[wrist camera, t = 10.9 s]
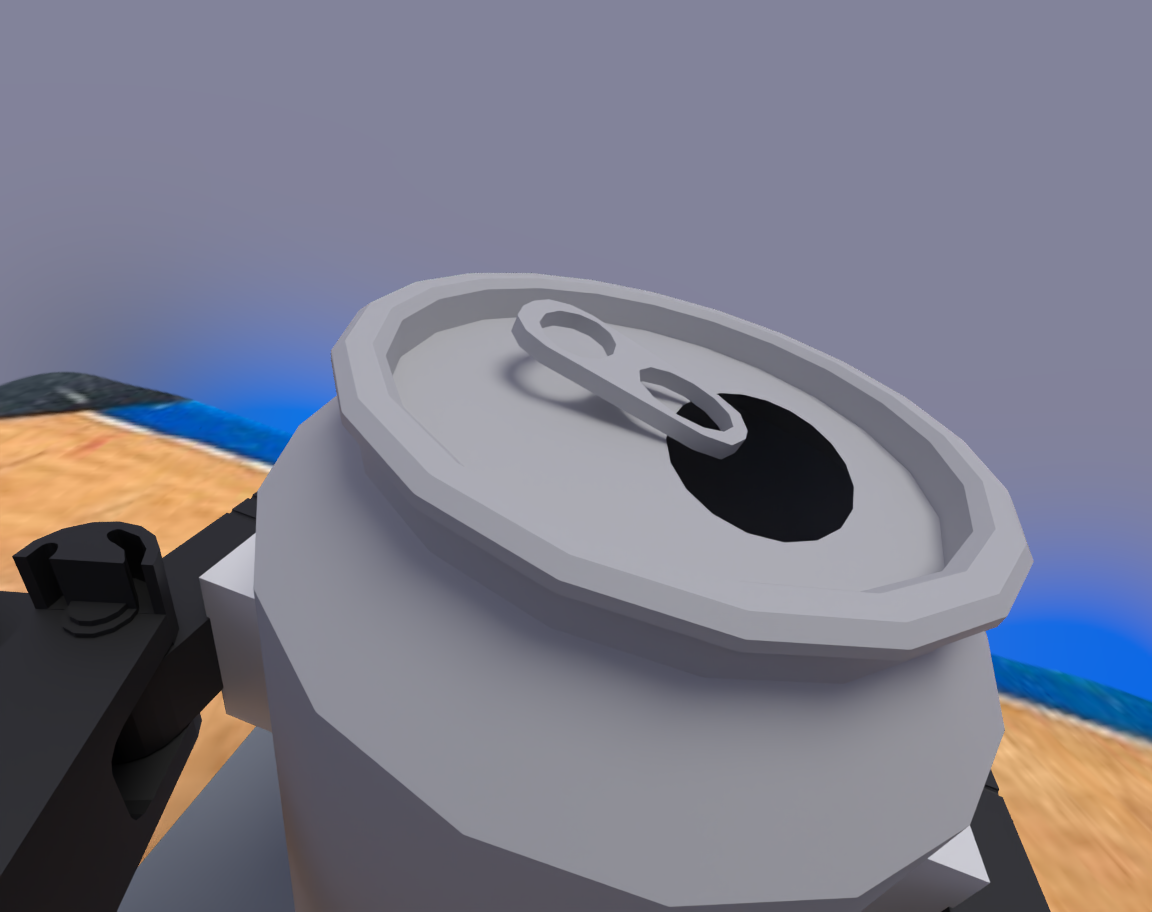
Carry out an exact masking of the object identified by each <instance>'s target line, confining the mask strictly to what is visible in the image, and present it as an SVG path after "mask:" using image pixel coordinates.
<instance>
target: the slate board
mask: <svg viewBox="0 0 1152 912" xmlns="http://www.w3.org/2000/svg"><path fill="white" fill-rule="evenodd" d="M117 912H295V905H294V898H293V890H292V882H291V874H290V867H289V859H288V851H287V844H286V836H285V828H284V820H283V813H282V805H281V797H280V790H279V782H278V774H277V766H276V759H275V751H274V743H273V736H272V732H270V731H267V730H265V729H262V728H260V727H257V726H256V727H255V728H254V730H253V731H252V732H251V733H250V734H249V735H248V737H247V738H246V739H245V740H244V741H243V743H242V744H241V745H240V746H239V747H238V749H237V750H236V751H235V752H234V753H233V755H232V756H231V757H230V758H229V759H228V761H227V762H226V763H225V764H224V765H223V766H222V768H221V769H220V770H219V771H218V772H217V774H216V775H215V776H214V777H213V778H212V780H211V781H210V782H209V783H208V784H207V786H206V787H205V788H204V789H203V790H202V791H201V793H200V794H199V795H198V796H197V797H196V799H195V800H194V801H193V802H192V803H191V805H190V806H189V807H188V808H187V809H186V811H185V812H184V813H183V814H182V815H181V817H180V818H179V819H178V820H177V821H176V822H175V824H174V825H173V826H172V827H171V828H170V830H169V831H168V832H167V833H166V834H165V836H164V837H163V838H162V839H161V840H160V842H159V843H158V844H157V845H156V846H155V847H154V849H153V850H152V851H151V852H150V853H149V855H148V856H147V857H146V858H145V859H144V861H143V862H142V863H141V864H140V865H139V867H138V868H137V869H136V871H135V874H134V876H133V878H132V880H131V882H130V884H129V887H128V889H127V891H126V893H125V895H124V897H123V899H122V902H121V904H120V906H119V908H118V910H117Z"/></svg>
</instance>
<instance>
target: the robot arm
mask: <svg viewBox="0 0 1152 912" xmlns="http://www.w3.org/2000/svg"><path fill="white" fill-rule="evenodd" d="M256 515H257V492H256V493H255V494H253V496H252V498H251V499H249V498H247V499H246V500H245V501H243V502H242V503H240V504H239V505H237V506H236V507H235V508H233V509H232V512H231V513H230V514H229V513H226V514H225V515H223V516H222V517H220V518H219V519H217V520H216V521H215V522H213V523H212V524H210V525H209V526H207V527H206V528H205V529H203V530H202V531H200V532H199V533H197V534H196V535H195V536H193V537H192V538H190V539H189V540H187V541H186V542H185V543H183V544H182V545H180V546H179V547H177V548H176V549H175V550H173V551H172V552H170V553H169V554H167V555H166V556H165V557H163V558H162V556H161V552H160V548H159V545H158V542H157V539H156V536H155V535H153V534H152V533H151V532H149V531H148V530H146V529H145V528H143V527H142V526H138V525H133V524H128V523H124V522H92V523H87V524H83V525H78V526H73V527H69V528H64V529H61V530H59V531H56V532H54V533H51V534H49V535H47V536H44V537H42V538H39V539H37V540H35V541H33V542H32V543H30V544H29V545H28V546H26V547H25V548H23V549H22V550H20V551H19V552H18V553H16V554H15V555H13V556H12V557H13V559H14V561H15V564H16V566H17V568H18V570H19V573H20V575H21V577H22V579H23V582H24V584H25V586H26V589H27V591H28V593H20V592H6V591H0V912H117V910H118V908H119V906H120V904H121V902H122V899H123V897H124V895H125V893H126V891H127V889H128V887H129V884H130V882H131V880H132V878H133V876H134V874H135V871H136V869H137V867H138V865H139V863H140V861H141V859H142V856H143V854H144V852H145V850H146V848H147V846H148V843H149V841H150V839H151V837H152V835H153V833H154V831H155V828H156V826H157V824H158V822H159V820H160V818H161V815H162V813H163V811H164V809H165V807H166V805H167V803H168V800H169V798H170V796H171V794H172V792H173V790H174V787H175V785H176V783H177V781H178V779H179V777H180V774H181V772H182V770H183V768H184V766H185V764H186V762H187V759H188V757H189V755H190V753H191V751H192V749H193V746H194V744H195V742H196V740H197V738H198V734H199V730H200V726H201V722H202V719H201V715H200V712H201V711H202V710H203V709H204V708H205V707H206V706H207V704H208V703H209V702H210V701H211V700H212V699H213V698H214V697H215V696H216V695H217V694H218V693H219V692H220V691H221V690H222V695H223V700H224V705H225V710H226V714H228V715H231V716H233V717H236V718H238V719H240V720H243V721H245V722H248V723H250V724H253V725H255V726H257V727H260V728H262V729H265V730H267V731H270V732H272V728H271V720H270V712H269V705H268V697H267V689H266V682H265V674H264V666H263V658H262V651H261V643H260V635H259V628H258V620H257V612H256V604H255V597H254V589H253V585H254V562H255V538H256ZM998 791H999V788H998V785H997V783H996V781H995V778H994V776H993V774H992V771H991V769H990V772H989V774H988V777H987V780H986V783H985V785H984V788H983V791H982V793H981V796H980V799H979V802H978V804H977V807H976V810H975V813H974V815H973V818H972V821H971V824H970V825H969V826H968V827H967V828H966V829H964V830H963V831H962V832H961V833H959V834H958V835H957V836H956V837H954V838H953V839H952V840H950V841H949V842H948V843H947V844H945V845H944V846H943V847H942V848H940V849H939V850H938V851H936V852H935V853H934V854H933V855H931V856H930V857H929V858H928V859H926V860H925V861H924V862H923V863H921V864H920V865H919V866H917V867H916V868H915V869H914V870H912V871H911V872H910V873H909V874H907V875H906V876H905V877H904V878H902V879H901V880H900V881H898V882H897V883H896V884H895V885H893V886H892V887H891V888H890V889H888V890H887V891H886V892H884V893H883V894H882V895H881V896H879V897H878V898H877V899H876V900H874V901H873V902H872V903H871V904H869V905H868V906H867V907H865V908H864V909H863V910H862V911H860V912H1051V911H1050V909H1049V907H1048V904H1047V902H1046V900H1045V897H1044V895H1043V892H1042V890H1041V888H1040V885H1039V883H1038V881H1037V878H1036V876H1035V873H1034V871H1033V869H1032V866H1031V864H1030V861H1029V859H1028V857H1027V854H1026V852H1025V850H1024V847H1023V845H1022V842H1021V840H1020V838H1019V835H1018V833H1017V831H1016V828H1015V826H1014V823H1013V821H1012V819H1011V816H1010V814H1009V812H1008V809H1007V807H1006V804H1005V802H1004V800H1003V797H1000V796H999V795H998Z"/></svg>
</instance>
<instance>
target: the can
mask: <svg viewBox="0 0 1152 912" xmlns="http://www.w3.org/2000/svg"><path fill="white" fill-rule="evenodd" d="M331 362H332V368H333V374H334V380H335V386H336V392H337V396H336V397H334V398H333V399H332V400H331V401H329V402H328V403H327V404H326V405H324V406H323V407H322V408H321V409H319V410H318V411H317V412H316V413H315V414H313V415H312V416H311V417H309V418H308V419H307V420H306V421H304V422H303V423H302V424H300V425H299V427H298V429H297V430H296V432H295V433H294V435H293V436H292V438H291V439H290V441H289V442H288V444H287V446H286V447H285V449H284V450H283V452H282V453H281V455H280V457H279V458H278V460H277V461H276V463H275V465H274V466H273V468H272V469H271V471H270V472H269V474H268V476H267V477H266V479H265V480H264V482H263V483H262V485H261V487H260V488H259V490H258V491H257V515H256V538H255V562H254V585H253V589H254V597H255V604H256V612H257V620H258V628H259V635H260V643H261V651H262V658H263V666H264V674H265V682H266V689H267V697H268V705H269V712H270V720H271V728H272V736H273V743H274V751H275V759H276V766H277V774H278V782H279V790H280V797H281V805H282V813H283V820H284V828H285V836H286V844H287V851H288V859H289V867H290V874H291V882H292V890H293V898H294V905H295V912H860V911H862V910H863V909H864V908H865V907H867V906H868V905H869V904H871V903H872V902H873V901H874V900H876V899H877V898H878V897H879V896H881V895H882V894H883V893H884V892H886V891H887V890H888V889H890V888H891V887H892V886H893V885H895V884H896V883H897V882H898V881H900V880H901V879H902V878H904V877H905V876H906V875H907V874H909V873H910V872H911V871H912V870H914V869H915V868H916V867H917V866H919V865H920V864H921V863H923V862H924V861H925V860H926V859H928V858H929V857H930V856H931V855H933V854H934V853H935V852H936V851H938V850H939V849H940V848H942V847H943V846H944V845H945V844H947V843H948V842H949V841H950V840H952V839H953V838H954V837H956V836H957V835H958V834H959V833H961V832H962V831H963V830H964V829H966V828H967V827H968V826H969V825H970V824H971V821H972V818H973V815H974V813H975V810H976V807H977V804H978V802H979V799H980V796H981V793H982V791H983V788H984V785H985V783H986V780H987V777H988V774H989V772H990V769H991V766H992V763H993V761H994V758H995V755H996V753H997V750H998V747H999V744H1000V742H1001V739H1002V736H1003V733H1004V731H1005V729H1004V723H1003V718H1002V712H1001V707H1000V702H999V696H998V691H997V686H996V680H995V675H994V670H993V664H992V659H991V654H990V648H989V643H988V638H987V635H986V632H985V631H986V630H989V629H992V628H995V627H997V626H998V625H999V624H1000V623H1001V622H1002V621H1003V620H1004V619H1005V618H1006V617H1007V615H1008V613H1009V611H1010V609H1011V607H1012V605H1013V603H1014V601H1015V599H1016V597H1017V595H1018V593H1019V590H1020V588H1021V586H1022V584H1023V582H1024V580H1025V578H1026V576H1027V574H1028V572H1029V570H1030V567H1031V566H1032V563H1033V558H1032V555H1031V553H1030V550H1029V547H1028V544H1027V541H1026V539H1025V536H1024V533H1023V530H1022V527H1021V525H1020V522H1019V519H1018V516H1017V513H1016V510H1015V508H1014V505H1013V502H1012V500H1011V497H1010V495H1009V493H1008V491H1007V489H1006V488H1005V487H1004V486H1003V485H1002V484H1001V482H1000V481H999V480H998V479H997V478H996V477H995V476H994V475H993V473H992V472H991V471H990V470H989V469H988V468H987V467H986V466H985V464H984V463H983V462H982V461H981V460H980V459H979V458H978V457H977V456H976V455H975V453H974V452H973V451H972V450H971V449H970V448H969V447H968V446H967V444H966V443H965V442H964V441H963V440H962V439H960V438H959V437H958V436H956V435H955V434H954V433H952V432H951V431H950V430H948V429H947V428H946V427H944V426H943V425H942V424H940V423H939V422H938V421H936V420H935V419H934V418H932V417H931V416H930V415H928V414H927V413H926V412H924V411H923V410H922V409H920V408H919V407H918V406H917V405H915V404H914V403H913V402H911V401H910V400H909V399H907V398H906V397H904V396H902V395H901V394H898V393H897V392H895V391H894V390H892V389H890V388H888V387H886V386H885V385H883V384H881V383H880V382H878V381H876V380H874V379H873V378H871V377H869V376H867V375H866V374H864V373H862V372H860V371H859V370H857V369H855V368H853V367H852V366H850V365H848V364H846V363H844V362H842V361H840V360H838V359H836V358H834V357H832V356H829V355H827V354H825V353H823V352H821V351H818V350H816V349H814V348H812V347H810V346H807V345H805V344H803V343H801V342H799V341H796V340H794V339H792V338H790V337H788V336H786V335H783V334H781V333H778V332H776V331H773V330H770V329H767V328H764V327H762V326H759V325H756V324H754V323H751V322H748V321H746V320H743V319H740V318H737V317H734V316H732V315H729V314H726V313H724V312H721V311H718V310H714V309H711V308H707V307H704V306H700V305H696V304H693V303H690V302H686V301H682V300H679V299H676V298H672V297H668V296H665V295H661V294H658V293H654V292H649V291H644V290H639V289H634V288H629V287H624V286H619V285H614V284H609V283H605V282H599V281H594V280H587V279H578V278H569V277H561V276H552V275H543V274H534V273H469V274H463V275H456V276H450V277H443V278H437V279H431V280H425V281H418V282H414V283H412V284H410V285H408V286H406V287H403V288H401V289H399V290H397V291H395V292H393V293H390V294H388V295H386V296H384V297H382V298H380V299H378V300H375V301H373V302H371V303H369V304H368V305H366V306H365V307H363V308H362V309H360V310H359V311H358V312H357V314H356V315H355V317H354V318H353V320H352V321H351V322H350V324H349V325H348V327H347V328H346V330H345V331H344V333H343V334H342V335H341V337H340V338H339V340H338V341H337V343H336V344H335V345H334V347H333V348H332V350H331Z"/></svg>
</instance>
